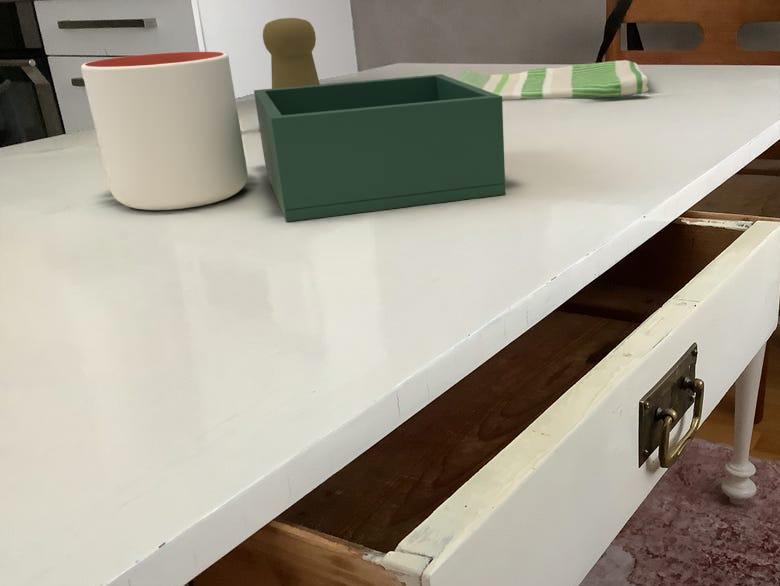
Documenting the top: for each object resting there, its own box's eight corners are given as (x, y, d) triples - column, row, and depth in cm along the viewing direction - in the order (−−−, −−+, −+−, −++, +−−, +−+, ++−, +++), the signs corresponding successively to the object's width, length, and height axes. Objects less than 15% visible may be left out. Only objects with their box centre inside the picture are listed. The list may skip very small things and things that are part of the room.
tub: (266, 175, 70) (253, 90, 67) (447, 155, 74) (442, 73, 71) (286, 222, 57) (270, 118, 54) (505, 194, 61) (502, 96, 58)
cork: (266, 130, 90) (249, 19, 86) (320, 123, 93) (307, 15, 88) (281, 138, 85) (264, 21, 81) (338, 131, 88) (325, 17, 83)
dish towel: (463, 86, 115) (461, 65, 114) (636, 80, 113) (637, 58, 112) (448, 107, 99) (446, 82, 98) (650, 100, 97) (651, 75, 96)
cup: (276, 191, 65) (255, 53, 60) (156, 222, 58) (123, 70, 54) (205, 176, 71) (182, 49, 67) (89, 202, 64) (55, 64, 60)
